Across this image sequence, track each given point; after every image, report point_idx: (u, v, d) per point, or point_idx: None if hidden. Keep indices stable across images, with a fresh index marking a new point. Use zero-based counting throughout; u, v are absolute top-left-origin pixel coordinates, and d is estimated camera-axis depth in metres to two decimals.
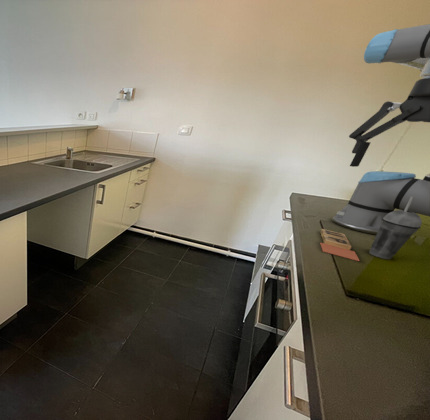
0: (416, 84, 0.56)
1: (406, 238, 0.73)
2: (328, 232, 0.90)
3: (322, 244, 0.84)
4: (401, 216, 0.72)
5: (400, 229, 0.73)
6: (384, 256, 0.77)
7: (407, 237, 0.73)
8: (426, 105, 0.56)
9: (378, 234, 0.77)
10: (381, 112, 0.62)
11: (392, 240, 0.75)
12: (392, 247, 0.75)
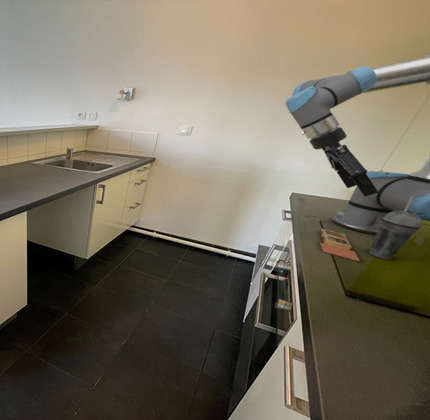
0: None
1: (406, 238, 0.73)
2: (328, 232, 0.90)
3: (322, 244, 0.84)
4: (401, 216, 0.72)
5: (400, 229, 0.73)
6: (384, 256, 0.77)
7: (407, 237, 0.73)
8: (329, 150, 0.79)
9: (378, 234, 0.77)
10: None
11: (392, 240, 0.75)
12: (392, 247, 0.75)
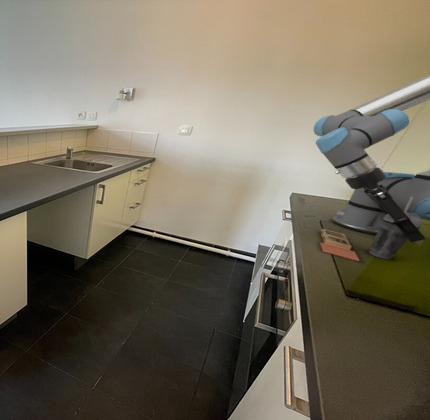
0: None
1: (406, 238, 0.73)
2: (328, 232, 0.90)
3: (322, 244, 0.84)
4: None
5: None
6: (384, 256, 0.77)
7: None
8: (367, 189, 0.77)
9: (378, 234, 0.77)
10: None
11: (392, 240, 0.75)
12: (392, 247, 0.75)
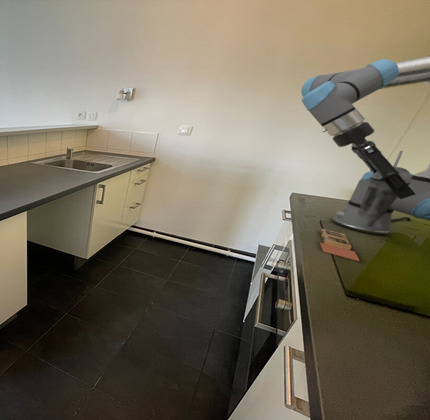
0: None
1: (395, 196, 0.69)
2: (328, 232, 0.90)
3: (322, 244, 0.84)
4: None
5: None
6: (372, 217, 0.73)
7: None
8: (355, 147, 0.73)
9: (366, 194, 0.73)
10: None
11: (380, 199, 0.71)
12: (380, 206, 0.71)
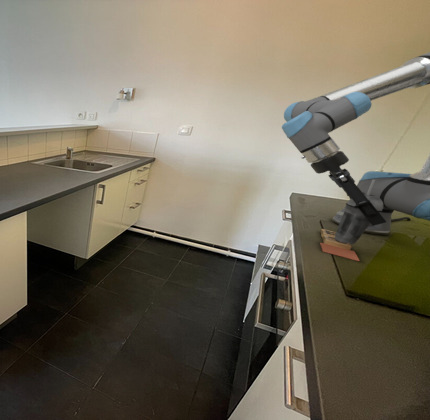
0: None
1: (368, 222, 0.73)
2: (328, 232, 0.90)
3: (322, 244, 0.84)
4: None
5: (362, 213, 0.72)
6: (348, 241, 0.76)
7: None
8: (332, 174, 0.77)
9: (342, 219, 0.77)
10: None
11: (355, 224, 0.74)
12: (355, 231, 0.75)
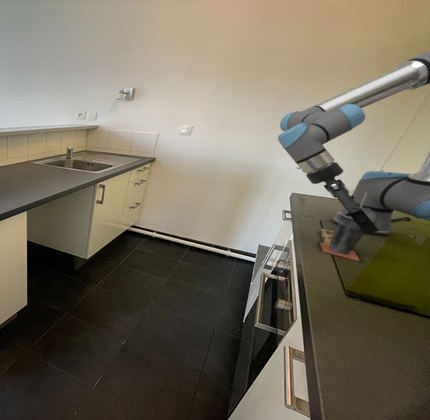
0: None
1: (361, 234, 0.74)
2: (328, 232, 0.90)
3: (322, 244, 0.84)
4: None
5: (355, 225, 0.74)
6: (342, 252, 0.78)
7: (362, 233, 0.74)
8: (327, 184, 0.78)
9: (336, 230, 0.78)
10: None
11: (348, 236, 0.75)
12: (349, 242, 0.76)
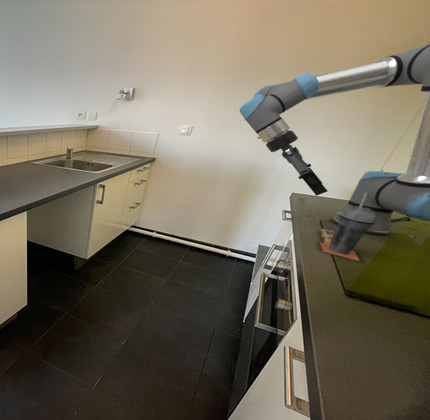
0: None
1: (361, 233, 0.74)
2: (328, 232, 0.90)
3: (322, 244, 0.84)
4: (356, 212, 0.73)
5: (355, 225, 0.74)
6: (342, 252, 0.78)
7: (362, 233, 0.74)
8: None
9: (336, 230, 0.78)
10: None
11: (348, 236, 0.75)
12: (349, 242, 0.76)
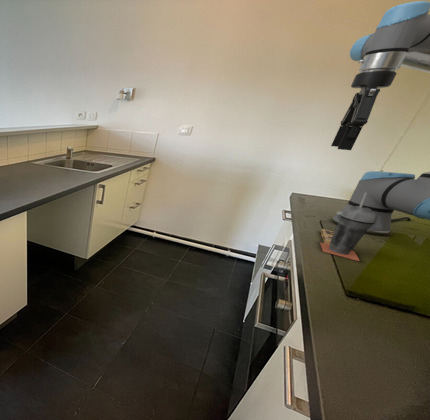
0: None
1: (361, 233, 0.74)
2: (328, 232, 0.90)
3: (322, 244, 0.84)
4: (356, 212, 0.73)
5: (355, 225, 0.74)
6: (342, 252, 0.78)
7: (362, 233, 0.74)
8: (360, 94, 0.72)
9: (336, 230, 0.78)
10: None
11: (348, 236, 0.75)
12: (349, 242, 0.76)
